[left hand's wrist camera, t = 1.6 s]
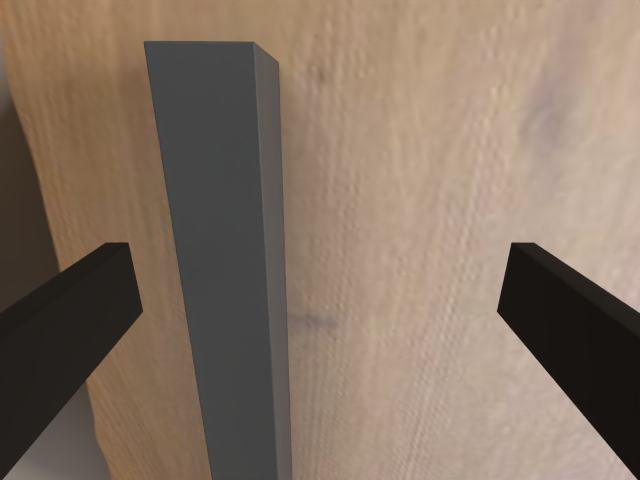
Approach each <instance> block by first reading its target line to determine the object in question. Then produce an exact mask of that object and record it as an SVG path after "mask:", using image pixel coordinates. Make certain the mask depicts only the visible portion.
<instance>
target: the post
mask: <svg viewBox="0 0 640 480" xmlns="http://www.w3.org/2000/svg"><path fill="white" fill-rule="evenodd" d="M144 48H145V54H146V60H147V67H148V73H149V80H150V86H151V92H152V99H153V105H154V112H155V118H156V124H157V131H158V137H159V143H160V150H161V156H162V163H163V169H164V175H165V182H166V188H167V195H168V201H169V207H170V214H171V220H172V227H173V233H174V239H175V246H176V252H177V258H178V265H179V271H180V278H181V284H182V290H183V297H184V303H185V310H186V316H187V322H188V329H189V335H190V342H191V348H192V354H193V361H194V367H195V374H196V380H197V386H198V393H199V399H200V405H201V412H202V418H203V425H204V431H205V437H206V444H207V450H208V457H209V463H210V469H211V476H212V480H292V457H291V427H290V396H289V366H288V336H287V305H286V275H285V244H284V214H283V184H282V153H281V123H280V93H279V63H278V61H277V60H275V59H274V58H273V57H272V56H270V55H269V54H268V53H267V52H266V51H264V50H263V49H262V48H261V47H259V46H258V45H257V44H256V43H255V42H210V41H144Z"/></svg>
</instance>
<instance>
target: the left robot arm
mask: <svg viewBox="0 0 640 480" xmlns="http://www.w3.org/2000/svg"><path fill="white" fill-rule="evenodd" d="M142 312H143V309H142V304H141V299H140V295H139V290H138V285H137V281H136V276H135V271H134V267H133V262H132V257H131V253H130V248H129V243H105V244H103V245H102V246H100V247H99V248H97V249H96V250H94V251H93V252H91V253H90V254H88V255H87V256H85V257H84V258H82V259H81V260H79V261H78V262H76V263H75V264H73V265H72V266H70V267H69V268H67V269H66V270H64V271H63V272H61V273H60V274H58V275H57V276H55V277H54V278H52V279H51V280H49V281H48V282H46V283H45V284H43V285H42V286H40V287H39V288H37V289H36V290H34V291H33V292H31V293H30V294H28V295H27V296H25V297H24V298H22V299H21V300H19V301H18V302H16V303H15V304H13V305H12V306H10V307H9V308H7V309H6V310H4V311H3V312H1V313H0V480H3V478H4V477H5V476H6V475H7V474H8V472H9V471H10V470H11V469H12V468H13V466H14V465H15V464H16V463H17V462H18V461H19V459H20V458H21V457H22V456H23V454H24V453H25V452H26V451H27V450H28V449H29V447H30V446H31V445H32V444H33V443H34V441H35V440H36V439H37V438H38V437H39V435H40V434H41V433H42V432H43V431H44V429H45V428H46V427H47V426H48V425H49V423H50V422H51V421H52V420H53V419H54V417H55V416H56V415H57V414H58V413H59V411H60V410H61V409H62V408H63V407H64V405H65V404H66V403H67V402H68V401H69V400H70V398H71V397H72V396H73V395H74V394H75V392H76V391H77V390H78V389H79V388H80V386H81V385H82V384H83V383H84V382H85V380H86V379H87V378H88V377H89V376H90V374H91V373H92V372H93V371H94V370H95V368H96V367H97V366H98V365H99V364H100V362H101V361H102V360H103V359H104V358H105V357H106V355H107V354H108V353H109V352H110V351H111V349H112V348H113V347H114V346H115V345H116V343H117V342H118V341H119V340H120V339H121V337H122V336H123V335H124V334H125V333H126V331H127V330H128V329H129V328H130V327H131V325H132V324H133V323H134V322H135V321H136V319H137V318H138V317H139V316H140V315H141V313H142ZM497 312H498V313H499V315H500V316H501V317H502V318H503V319H504V321H505V322H506V323H507V324H508V325H509V327H510V328H511V329H512V330H513V331H514V333H515V334H516V335H517V336H518V337H519V339H520V340H521V341H522V342H523V343H524V345H525V346H526V347H527V348H528V349H529V351H530V352H531V353H532V354H533V355H534V357H535V358H536V359H537V360H538V361H539V363H540V364H541V365H542V366H543V367H544V368H545V370H546V371H547V372H548V373H549V374H550V376H551V377H552V378H553V379H554V380H555V382H556V383H557V384H558V385H559V386H560V388H561V389H562V390H563V391H564V392H565V394H566V395H567V396H568V397H569V398H570V400H571V401H572V402H573V403H574V404H575V406H576V407H577V408H578V409H579V410H580V412H581V413H582V414H583V415H584V416H585V418H586V419H587V420H588V421H589V422H590V423H591V425H592V426H593V427H594V428H595V429H596V431H597V432H598V433H599V434H600V435H601V437H602V438H603V439H604V440H605V441H606V443H607V444H608V445H609V446H610V447H611V449H612V450H613V451H614V452H615V453H616V455H617V456H618V457H619V458H620V459H621V461H622V462H623V463H624V464H625V465H626V467H627V468H628V469H629V470H630V471H631V473H632V474H633V475H634V476H635V477H636V479H637V480H640V313H639V312H637V311H636V310H634V309H633V308H631V307H630V306H628V305H627V304H625V303H624V302H622V301H621V300H619V299H618V298H616V297H615V296H613V295H612V294H610V293H609V292H607V291H606V290H604V289H603V288H601V287H600V286H598V285H597V284H595V283H594V282H592V281H591V280H589V279H588V278H586V277H585V276H583V275H582V274H580V273H579V272H577V271H576V270H574V269H573V268H571V267H570V266H568V265H567V264H565V263H564V262H562V261H561V260H559V259H558V258H556V257H555V256H553V255H552V254H550V253H549V252H547V251H546V250H544V249H543V248H541V247H540V246H538V245H537V244H535V243H511V248H510V253H509V257H508V262H507V267H506V271H505V276H504V281H503V285H502V290H501V295H500V299H499V304H498V309H497Z"/></svg>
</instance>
